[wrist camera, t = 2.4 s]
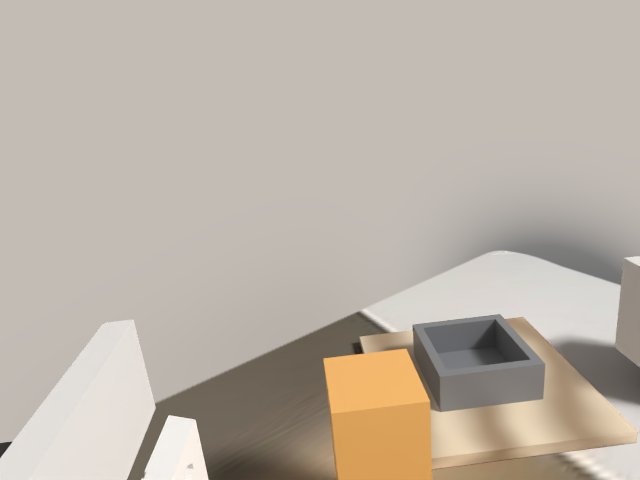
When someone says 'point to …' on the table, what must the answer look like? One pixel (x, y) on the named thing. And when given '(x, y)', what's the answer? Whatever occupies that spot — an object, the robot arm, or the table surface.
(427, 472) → the connector plug
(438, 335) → the socket cup
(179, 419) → the white wedge bracket
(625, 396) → the table surface
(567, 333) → the table surface
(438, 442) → the mounting board
